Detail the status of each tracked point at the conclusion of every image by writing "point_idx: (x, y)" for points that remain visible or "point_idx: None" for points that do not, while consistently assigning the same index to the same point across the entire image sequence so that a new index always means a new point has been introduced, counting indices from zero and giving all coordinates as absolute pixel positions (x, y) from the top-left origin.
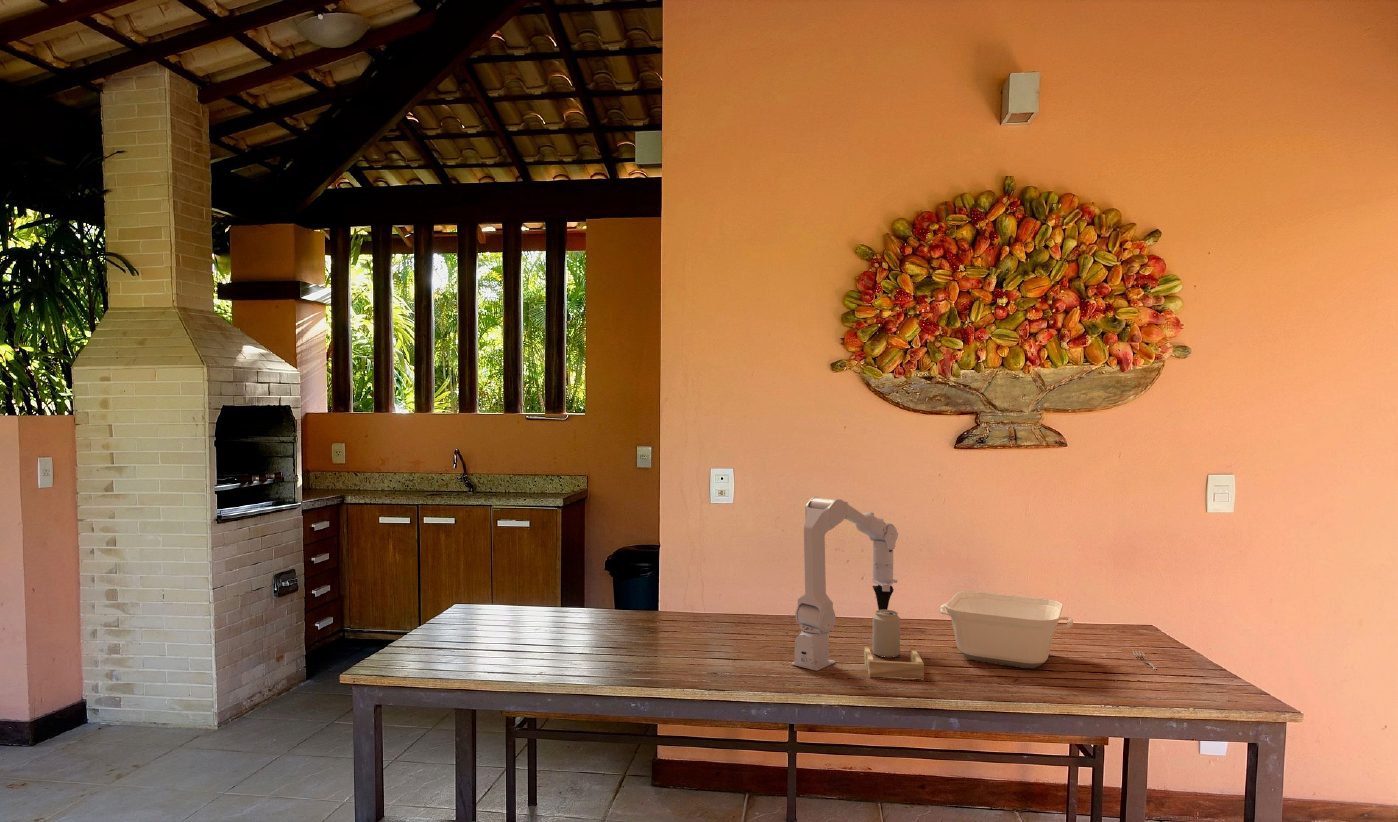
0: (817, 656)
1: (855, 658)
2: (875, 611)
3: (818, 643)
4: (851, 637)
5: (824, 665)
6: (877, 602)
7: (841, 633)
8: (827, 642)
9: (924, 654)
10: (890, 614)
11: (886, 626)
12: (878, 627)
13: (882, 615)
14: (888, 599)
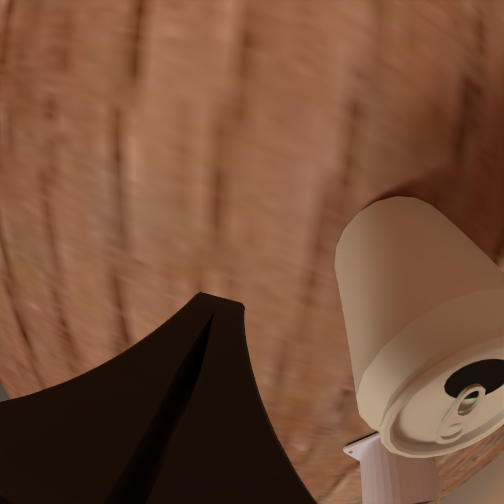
0: (433, 466)
1: None
2: (413, 457)
3: (436, 490)
4: (120, 290)
5: None
6: (182, 417)
7: (78, 301)
8: (431, 478)
9: (415, 66)
10: (407, 336)
11: (497, 367)
12: (455, 387)
13: (489, 427)
14: (261, 416)
